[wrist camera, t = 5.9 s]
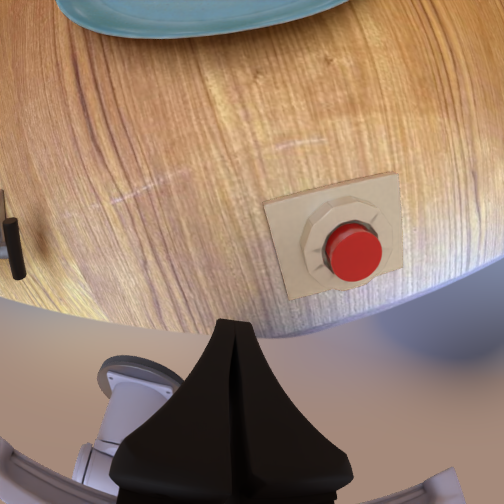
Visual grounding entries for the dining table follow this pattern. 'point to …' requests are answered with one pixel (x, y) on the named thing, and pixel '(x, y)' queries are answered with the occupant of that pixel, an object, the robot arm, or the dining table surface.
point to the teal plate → (186, 16)
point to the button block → (326, 222)
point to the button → (353, 252)
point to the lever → (13, 248)
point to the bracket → (2, 216)
